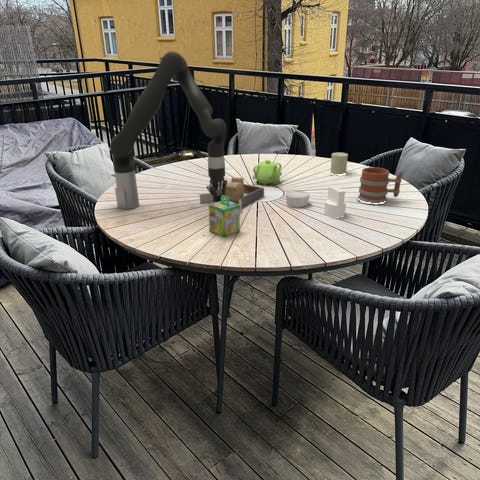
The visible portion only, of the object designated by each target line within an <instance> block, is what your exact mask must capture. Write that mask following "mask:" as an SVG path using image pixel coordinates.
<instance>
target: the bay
mask: <svg viewBox="0 0 480 480" xmlns="http://www.w3.org/2000/svg"><path fill="white" fill-rule="evenodd" d="M244 188H245V191H244V196H243V197H241V198H239V205H240V214H241V213H242V209H243V208H245V207H246V205H247V206H249V205H251V204H252V203H254V202H256V201H258V200H260V199H262V198H264V197H265V187H262V186H258V185H257V186H256V185H254V184H253V185H251V184H246V183H244ZM245 194H246V195H245ZM222 195H224V196H225V190H224V192H223V193H222V194H221V196H222ZM199 203H200V204H201V205H202V204H212V203H215V196H214V195H211V193H210V192H206V193H199ZM248 204H249V205H248ZM244 206H245V207H244ZM242 207H243V208H242Z"/></svg>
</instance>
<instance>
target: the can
mask: <svg viewBox="0 0 480 480" xmlns="http://www.w3.org/2000/svg"><path fill="white" fill-rule="evenodd" d="M348 157H349V154H348V153H347V152H346V153H345V152H333V153H331V161H330V162H331V163H330V172H331V173H333V174H343V173H346V174H347V169H348Z"/></svg>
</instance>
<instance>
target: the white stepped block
mask: <svg viewBox="0 0 480 480" xmlns="http://www.w3.org/2000/svg"><path fill="white" fill-rule="evenodd" d="M327 189H328V190H327V199H326V200H325V201H324V210H323V215H324V214H325V215H327V216H330V217H341V216H344V215H346V205H347V202H346V200H345V196H346V191H345V190H343V189H342V188H340V187H339V186H336V185H328V188H327ZM325 215H324V216H325ZM344 217H345V216H344Z"/></svg>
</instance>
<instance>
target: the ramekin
mask: <svg viewBox="0 0 480 480" xmlns="http://www.w3.org/2000/svg"><path fill="white" fill-rule="evenodd" d="M310 196H311V194H310V193H309V192H307V191H304V190H290V191H287V192H286V193H285V198H286V204H287V205H288V206H289V207H291V206H292V207H291V208H296V207H300V208H304V207H303V206H305V207H307V205H308V204H309V200H310Z"/></svg>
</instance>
